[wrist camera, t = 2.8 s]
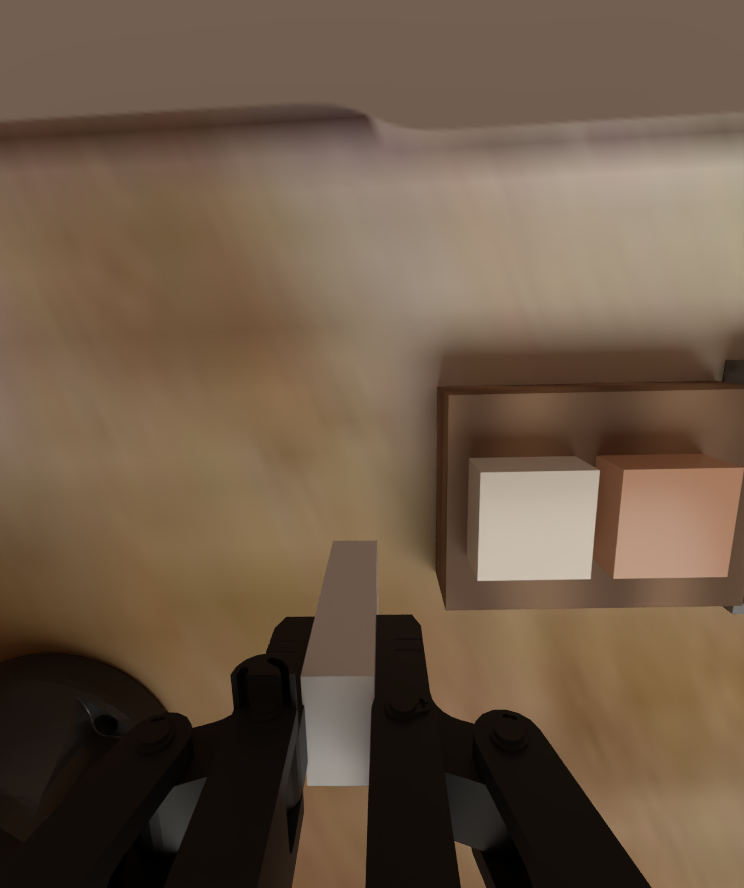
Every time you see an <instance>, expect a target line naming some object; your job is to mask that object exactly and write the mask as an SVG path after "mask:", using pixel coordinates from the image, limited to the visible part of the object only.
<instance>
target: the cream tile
mask: <svg viewBox="0 0 744 888" xmlns="http://www.w3.org/2000/svg"><path fill="white" fill-rule="evenodd" d="M599 476H600V470H599V469H597V468H595V467H593V466H592V465H590V464H588V463H586V462H585V461H583V460H581V459H579V458H578V457H576V456H550V457H498V458H469V478H468V520H467V558H468V560H469V562H470V565H471V567H472V569H473V572H474V574H475V577H476V579H477V581H507V580H570V579H591V568H592V557H593V545H594V533H595V522H596V510H597V499H598V487H599Z"/></svg>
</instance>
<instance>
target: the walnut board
mask: <svg viewBox="0 0 744 888" xmlns="http://www.w3.org/2000/svg"><path fill="white" fill-rule="evenodd" d="M654 454H706V455H709V456H712V457H715V458H718V459H721V460H723V461H726V462H729V463H732V464H735V465H738V466H741V467H744V384H736V383H728V382H719V381H695V382H647V383H600V384H552V385H505V386H457V387H437V497H436V575H437V579H438V583H439V586H440V590H441V594H442V598H443V602H444V606H445V609H446V610H501V609H567V608H633V607H699V606H742V604H743V598H744V472H743V479H742V485H741V492H740V498H739V504H738V511H737V517H736V524H735V530H734V537H733V543H732V549H731V556H730V562H729V569H728V575H727V577H695V578H633V579H613V578H612V577H611V576H610V575H609V574H608V573H607V572H606V571H605V570H604V569H603V568H602V567H601V566H600V565H599V564H598V563H597V562H596V561H595V560H594V559H593V558H592V568H591V579H570V580H507V581H477V579H476V577H475V574H474V572H473V569H472V567H471V565H470V562H469V560H468V558H467V520H468V478H469V458H498V457H550V456H576V457H578V458H579V459H581V460H583V461H585V462H586V463H588V464H590V465H592V466H593V467H595V466H596V456H602V455H654Z"/></svg>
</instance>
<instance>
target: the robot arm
mask: <svg viewBox="0 0 744 888" xmlns="http://www.w3.org/2000/svg"><path fill="white" fill-rule="evenodd" d="M378 614H379V612H378V564H377V541H333V544H332V548H331V552H330V556H329V560H328V565H327V569H326V573H325V577H324V581H323V585H322V590H321V594H320V598H319V602H318V606H317V610H316V614H315V617H286V618H285V619H284V620H283V621H282V622H281V623H280V624H279V625H278V626H276V627H275V629H274V632H273V634H272V637H271V640H270V644H269V645H268V648H267V651H266V654H261V655H257V656H254V657H251V658H249V659H246V660H245V661H243V662H242V663H241V664H239V665H238V666H237V667H236V668H235V669H234V671H233V672H232V673H231V684H232V694H233V704H234V711H233V713H232V715H230V716H228V717H226V718H224V719H222V720H219V721H216V722H214V723H210V724H206V725H202V726H198V727H195V728H192V724H191V723H190V721H189V720H188V718H187V717H186V716H184V715H181V714H179V713H167V712H165V710H164V709H163V708H162V706H161V705H160V704H159V703H158V702H157V700H156V699H155V698H154V697H153V696H152V695H151V694H150V693H149V692H148V691H147V690H145V689H144V688H143V687H142V686H141V685H139V684H138V683H137V682H136V681H134V680H133V679H131V678H130V677H128V676H127V675H125V674H123V673H121V672H120V671H118V670H116V669H114V668H112V667H109V666H107V665H105V664H102V663H100V662H97V661H94V660H90V659H87V658H83V657H78V656H73V655H66V654H34V655H27V656H22V657H18V658H14V659H11V660H8V661H5V662H3V663H1V664H0V888H292V883H293V876H294V870H295V864H296V858H297V852H298V845H299V839H300V833H301V827H302V821H303V815H304V799H303V787H304V781H305V776H306V770H307V786H369V793H368V825H367V856H366V887H365V888H461V885H460V878H459V871H458V864H457V857H456V850H455V843H454V841H456V842H459V843H462V844H465V845H467V846H470V847H471V848H472V853H473V856H474V858H475V861H476V863H477V866H478V868H479V871H480V873H481V876H482V878H483V880H484V883H485V885H486V888H651V886H650V885H649V883H648V882H647V881H646V879H645V878H644V876H643V875H642V873H641V872H640V871H639V869H638V868H637V866H636V865H635V864H634V862H633V861H632V859H631V858H630V856H629V855H628V854H627V852H626V851H625V849H624V848H623V847H622V845H621V844H620V842H619V841H618V839H617V838H616V837H615V835H614V834H613V832H612V831H611V829H610V828H609V827H608V825H607V824H606V822H605V821H604V820H603V818H602V817H601V815H600V814H599V812H598V811H597V810H596V808H595V807H594V805H593V804H592V803H591V801H590V800H589V798H588V797H587V795H586V794H585V793H584V791H583V790H582V788H581V787H580V786H579V784H578V783H577V781H576V780H575V778H574V777H573V776H572V774H571V773H570V771H569V770H568V769H567V767H566V766H565V764H564V763H563V761H562V760H561V759H560V757H559V756H558V754H557V753H556V752H555V750H554V749H553V747H552V746H551V744H550V743H549V742H548V740H547V739H546V737H545V736H544V735H543V733H542V732H541V730H540V729H539V728H538V727H537V726H536V725H535V724H534V723H533V722H532V721H531V720H530V719H528V718H526V717H525V716H523V715H521V714H519V713H516V712H512V711H509V710H492V711H489V712H487V713H484V714H482V715H481V716H480V717H479V718H478V719H477V720H476V722H475V724H473V723H469V722H466V721H462V720H459V719H456V718H454V717H451V716H449V715H448V714H446V713H444V712H443V711H442V710H441V709H440V708H439V707H438V706H436V704H435V703H434V701H433V700H432V697H431V694H430V689H429V682H428V675H427V667H426V660H425V653H424V645H423V638H422V631H421V625H420V624H419V623H418V622H417V620H416V619H415V618H414V617H413V615H378Z"/></svg>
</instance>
